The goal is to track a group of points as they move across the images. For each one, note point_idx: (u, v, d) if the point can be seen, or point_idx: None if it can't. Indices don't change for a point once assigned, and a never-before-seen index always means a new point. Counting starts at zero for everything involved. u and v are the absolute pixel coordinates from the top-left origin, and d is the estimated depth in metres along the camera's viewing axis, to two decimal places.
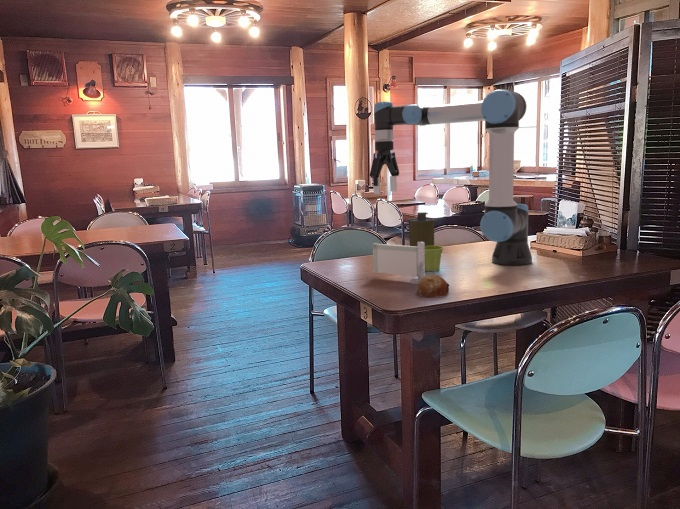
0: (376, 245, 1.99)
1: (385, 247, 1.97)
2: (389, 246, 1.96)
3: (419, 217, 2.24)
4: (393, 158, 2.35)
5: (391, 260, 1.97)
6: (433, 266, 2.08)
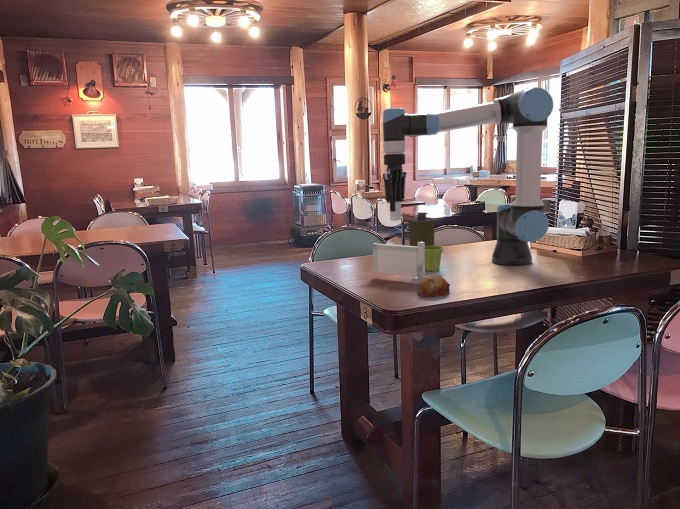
0: (376, 245, 1.99)
1: (385, 247, 1.97)
2: (389, 246, 1.96)
3: (419, 217, 2.24)
4: (403, 177, 2.01)
5: (391, 260, 1.97)
6: (433, 266, 2.08)
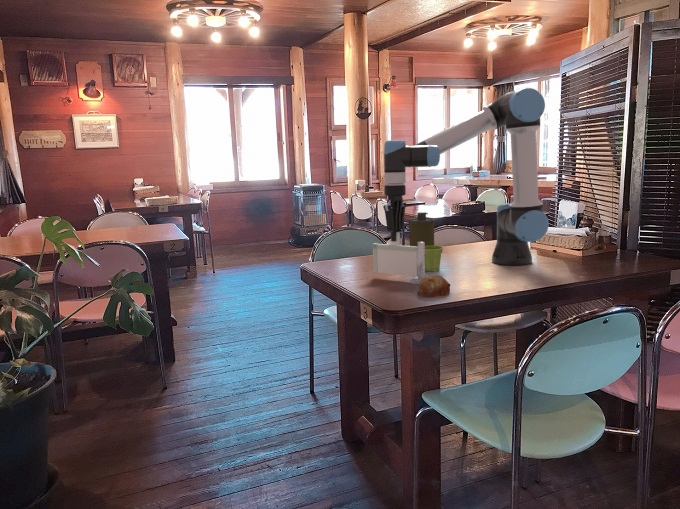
0: (376, 245, 1.99)
1: (385, 247, 1.97)
2: (389, 246, 1.96)
3: (419, 217, 2.24)
4: (402, 208, 2.03)
5: (391, 260, 1.97)
6: (433, 266, 2.08)
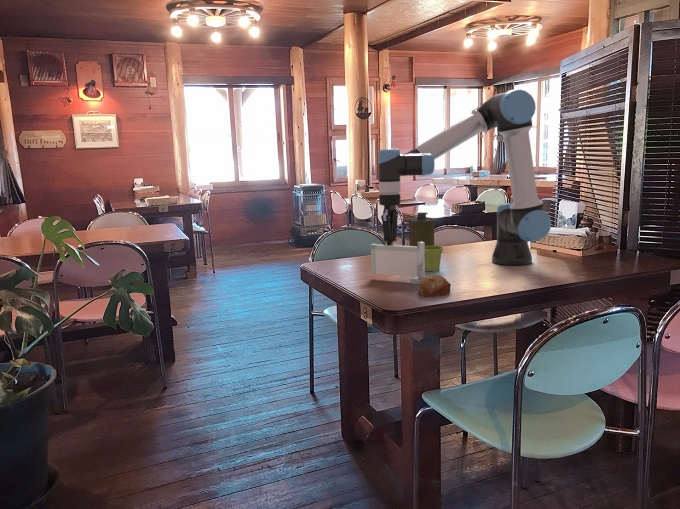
0: (374, 246, 1.98)
1: (384, 248, 1.96)
2: (388, 246, 1.95)
3: (419, 217, 2.24)
4: (395, 216, 2.01)
5: (390, 260, 1.96)
6: (433, 266, 2.08)
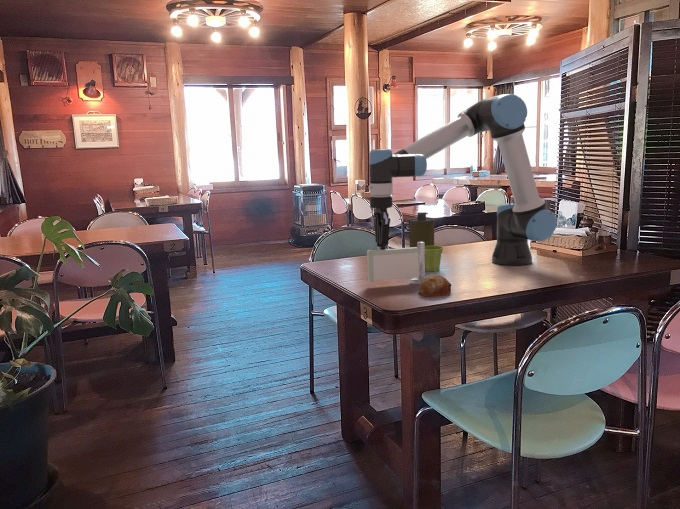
0: (372, 252, 1.86)
1: (383, 252, 1.86)
2: (388, 251, 1.87)
3: (419, 217, 2.24)
4: None
5: (389, 265, 1.88)
6: (433, 266, 2.08)
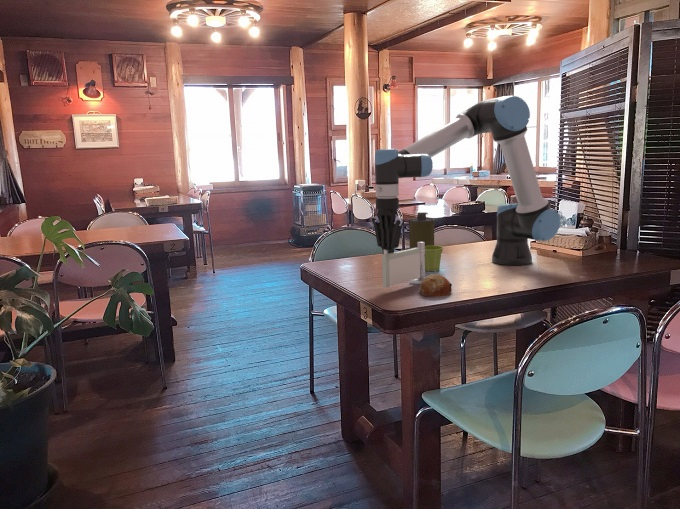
0: (388, 256, 1.78)
1: (396, 255, 1.80)
2: (399, 253, 1.81)
3: (419, 217, 2.24)
4: (380, 223, 1.86)
5: (400, 268, 1.83)
6: (433, 266, 2.08)
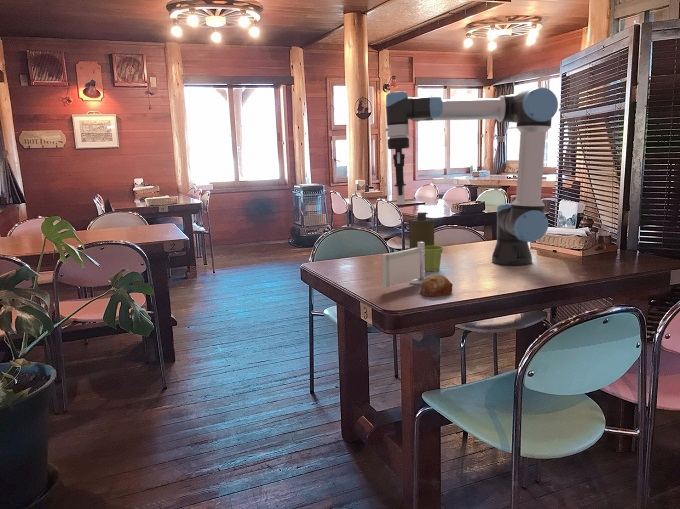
0: (388, 256, 1.78)
1: (396, 255, 1.80)
2: (399, 253, 1.81)
3: (419, 217, 2.24)
4: (402, 162, 2.02)
5: (400, 268, 1.83)
6: (433, 266, 2.08)
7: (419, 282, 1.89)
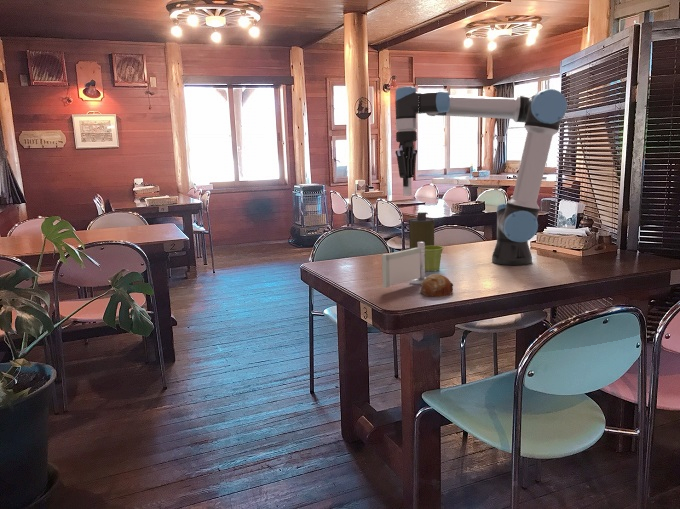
0: (388, 256, 1.78)
1: (396, 255, 1.80)
2: (399, 253, 1.81)
3: (419, 217, 2.24)
4: (414, 154, 2.09)
5: (400, 268, 1.83)
6: (433, 266, 2.08)
7: (419, 282, 1.89)
